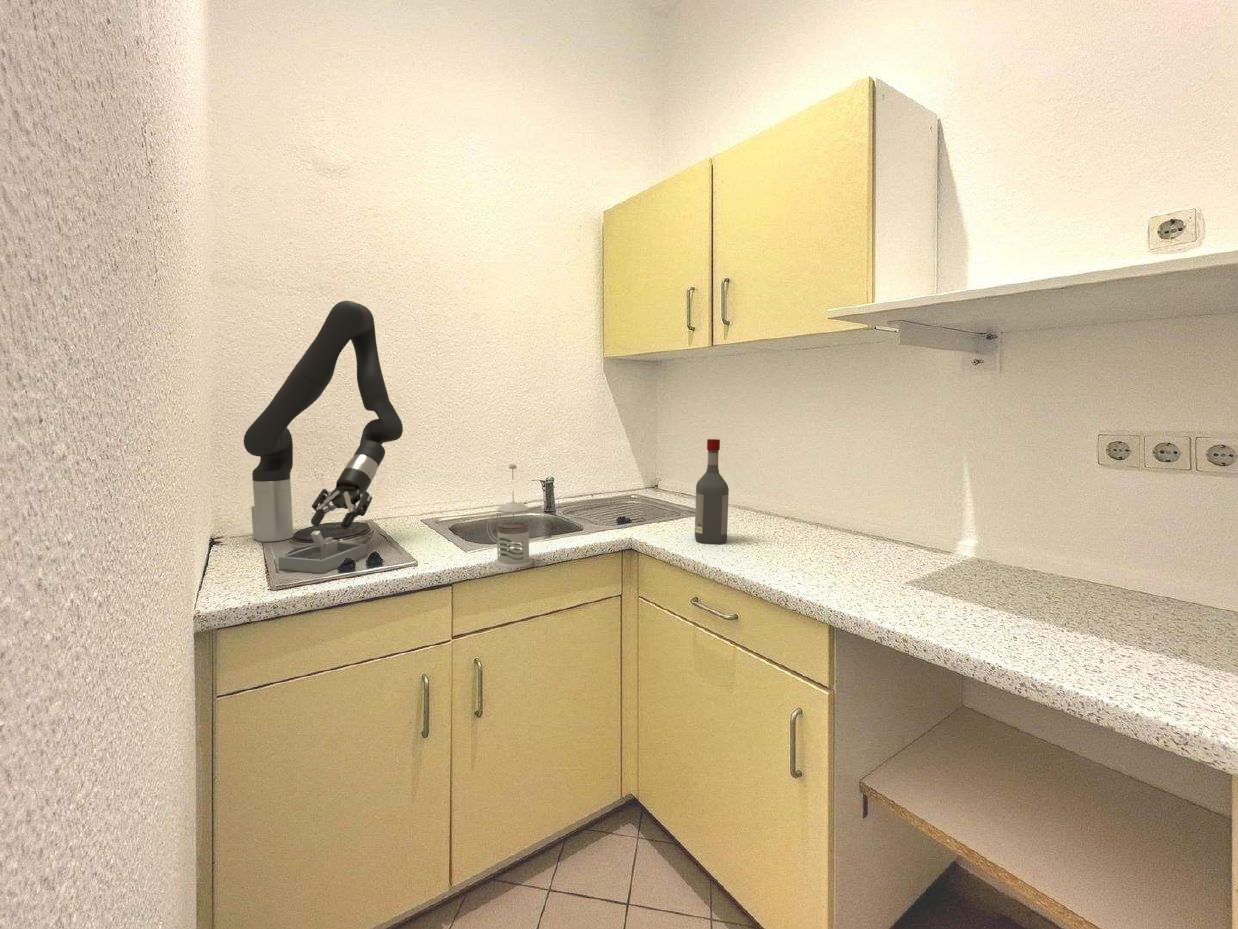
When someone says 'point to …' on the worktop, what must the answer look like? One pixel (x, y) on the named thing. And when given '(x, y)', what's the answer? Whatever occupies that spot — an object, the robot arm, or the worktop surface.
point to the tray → (302, 564)
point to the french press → (512, 536)
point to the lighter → (325, 544)
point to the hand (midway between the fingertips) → (328, 526)
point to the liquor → (711, 501)
